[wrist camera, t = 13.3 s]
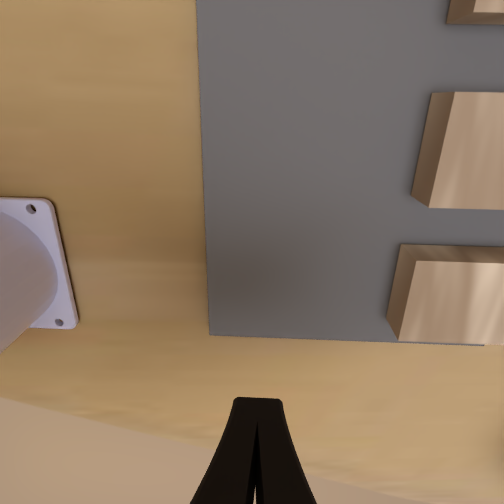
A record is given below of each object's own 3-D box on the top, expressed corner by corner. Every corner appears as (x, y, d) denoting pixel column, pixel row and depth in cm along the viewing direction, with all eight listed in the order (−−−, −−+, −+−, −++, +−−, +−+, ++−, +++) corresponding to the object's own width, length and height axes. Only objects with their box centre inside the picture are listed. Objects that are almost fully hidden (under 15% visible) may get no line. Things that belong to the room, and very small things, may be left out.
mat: (211, 329, 21) (209, 335, 21) (192, -182, 12) (188, -196, 12) (478, 339, 21) (484, 345, 20) (657, -186, 12) (676, -200, 11)
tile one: (398, 340, 18) (521, 345, 17) (416, 260, 16) (554, 265, 16) (385, 316, 20) (496, 320, 19) (399, 243, 18) (522, 246, 18)
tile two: (428, 207, 15) (576, 211, 15) (455, 91, 13) (624, 94, 13) (409, 195, 17) (540, 198, 17) (430, 93, 15) (576, 95, 15)
